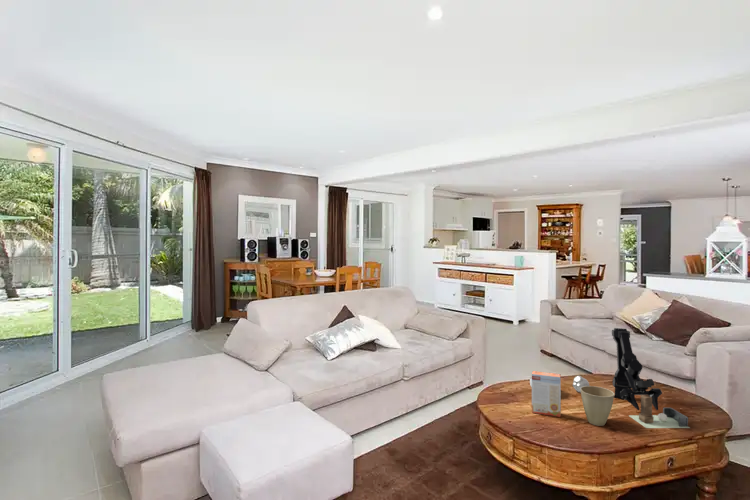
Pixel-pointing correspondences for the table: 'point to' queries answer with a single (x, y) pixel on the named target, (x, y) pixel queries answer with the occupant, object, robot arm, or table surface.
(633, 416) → the pitch
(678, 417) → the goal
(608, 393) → the plant pot
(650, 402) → the block
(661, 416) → the ball
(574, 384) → the shiny silver sphere
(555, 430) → the table surface
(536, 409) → the cracker box
